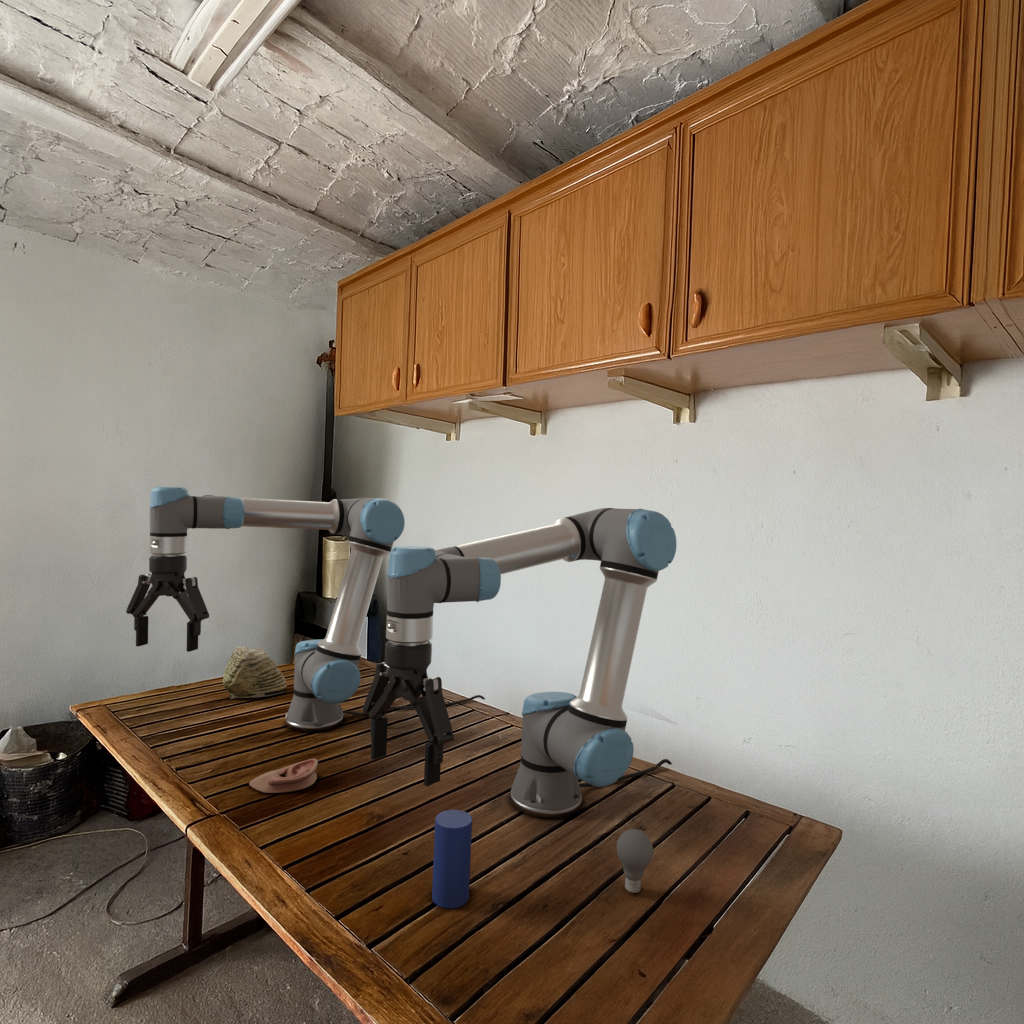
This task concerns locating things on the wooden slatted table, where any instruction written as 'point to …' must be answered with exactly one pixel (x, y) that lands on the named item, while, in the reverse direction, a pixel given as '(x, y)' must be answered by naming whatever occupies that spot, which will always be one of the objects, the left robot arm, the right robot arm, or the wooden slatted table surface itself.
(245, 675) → the fossil
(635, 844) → the light bulb
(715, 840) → the wooden slatted table surface
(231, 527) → the left robot arm
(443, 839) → the cylinder
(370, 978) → the wooden slatted table surface
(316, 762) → the anatomical model
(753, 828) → the wooden slatted table surface
